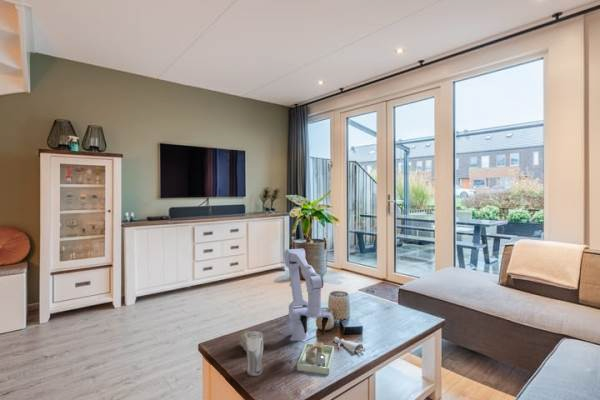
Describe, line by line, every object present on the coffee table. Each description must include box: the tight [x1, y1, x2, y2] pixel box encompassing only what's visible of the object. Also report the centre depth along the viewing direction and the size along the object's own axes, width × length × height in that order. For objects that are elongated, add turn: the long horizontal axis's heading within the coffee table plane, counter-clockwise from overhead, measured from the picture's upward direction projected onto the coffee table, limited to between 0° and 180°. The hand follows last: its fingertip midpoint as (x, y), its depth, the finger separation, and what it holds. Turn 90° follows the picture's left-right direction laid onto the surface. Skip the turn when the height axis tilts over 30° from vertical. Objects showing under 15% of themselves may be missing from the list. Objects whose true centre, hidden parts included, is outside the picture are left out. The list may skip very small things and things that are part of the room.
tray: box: [296, 342, 335, 376], centre depth 133 cm, size 18×13×3 cm
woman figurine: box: [333, 336, 366, 355], centre depth 145 cm, size 12×4×18 cm
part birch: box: [306, 347, 317, 364], centre depth 132 cm, size 4×4×5 cm
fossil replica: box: [239, 329, 254, 352], centre depth 144 cm, size 12×8×10 cm
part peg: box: [315, 354, 325, 367], centre depth 127 cm, size 4×4×5 cm
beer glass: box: [245, 330, 264, 377], centre depth 126 cm, size 7×7×15 cm
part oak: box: [313, 341, 324, 354], centre depth 137 cm, size 4×4×5 cm
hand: (314, 333), depth 138 cm, fingers open, 7 cm apart
